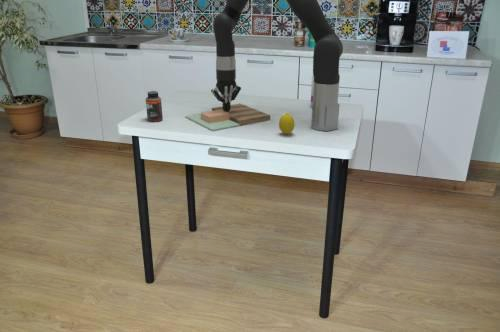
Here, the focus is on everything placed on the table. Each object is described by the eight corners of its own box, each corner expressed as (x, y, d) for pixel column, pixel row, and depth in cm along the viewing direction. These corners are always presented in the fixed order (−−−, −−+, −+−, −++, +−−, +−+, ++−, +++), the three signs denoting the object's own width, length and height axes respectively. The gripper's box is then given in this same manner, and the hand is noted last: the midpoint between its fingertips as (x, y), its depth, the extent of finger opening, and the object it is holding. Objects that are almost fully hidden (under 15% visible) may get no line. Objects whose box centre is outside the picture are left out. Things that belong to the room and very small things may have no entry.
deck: (270, 120, 187) (270, 115, 187) (240, 125, 180) (240, 120, 179) (239, 107, 204) (239, 103, 204) (211, 112, 197) (211, 108, 196)
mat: (239, 125, 180) (239, 124, 180) (212, 131, 174) (212, 129, 173) (211, 112, 197) (211, 111, 197) (185, 117, 191) (185, 115, 190)
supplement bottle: (161, 117, 190) (159, 89, 186) (163, 121, 185) (161, 93, 181) (146, 118, 189) (144, 90, 184) (148, 122, 183) (146, 94, 179)
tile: (229, 119, 186) (229, 113, 185) (209, 123, 181) (209, 117, 180) (220, 115, 191) (220, 109, 190) (200, 118, 186) (200, 112, 185)
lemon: (293, 132, 173) (293, 111, 170) (294, 137, 168) (295, 115, 165) (278, 132, 173) (278, 111, 170) (279, 137, 168) (280, 115, 165)
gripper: (215, 70, 175) (217, 116, 181) (245, 67, 182) (245, 111, 188) (205, 67, 181) (207, 111, 187) (235, 64, 188) (235, 107, 194)
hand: (226, 111), depth 188 cm, fingers closed
